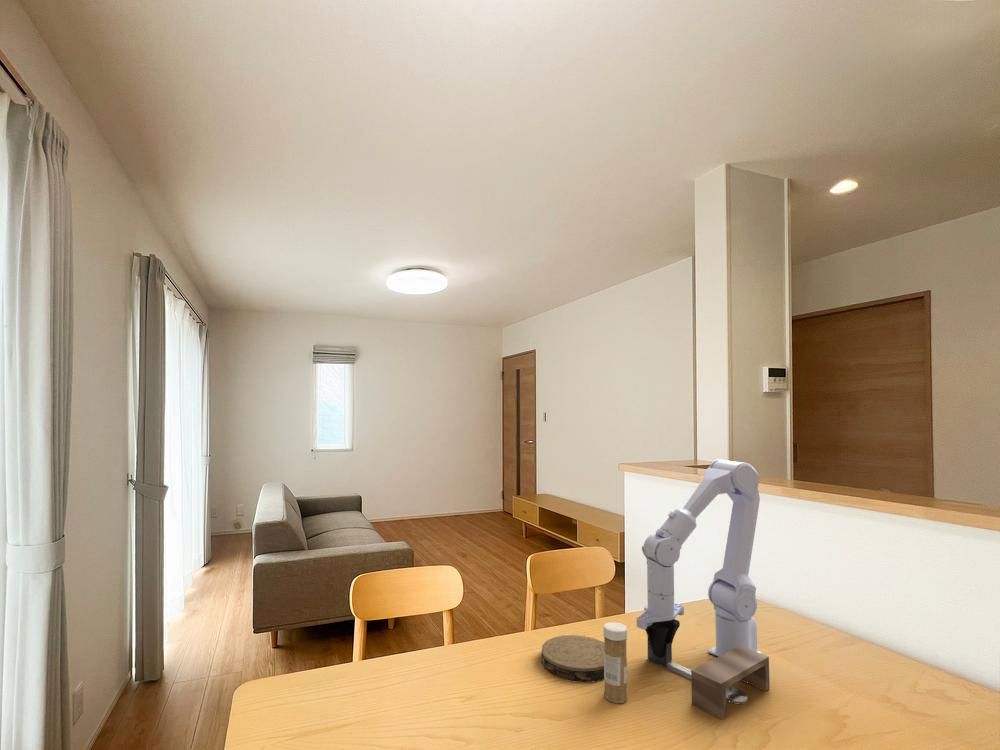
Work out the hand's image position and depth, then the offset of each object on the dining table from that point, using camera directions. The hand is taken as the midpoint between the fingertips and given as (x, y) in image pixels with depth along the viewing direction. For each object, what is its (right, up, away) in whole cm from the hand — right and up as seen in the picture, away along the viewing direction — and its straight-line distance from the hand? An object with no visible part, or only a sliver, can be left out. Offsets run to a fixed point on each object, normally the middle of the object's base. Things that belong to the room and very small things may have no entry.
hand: (661, 654), depth 113 cm
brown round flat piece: (-19, -2, -1) cm, 19 cm away
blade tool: (+3, -2, -5) cm, 6 cm away
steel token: (+10, -1, -13) cm, 17 cm away
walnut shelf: (+10, -1, -13) cm, 16 cm away
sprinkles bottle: (-13, -1, -14) cm, 19 cm away
